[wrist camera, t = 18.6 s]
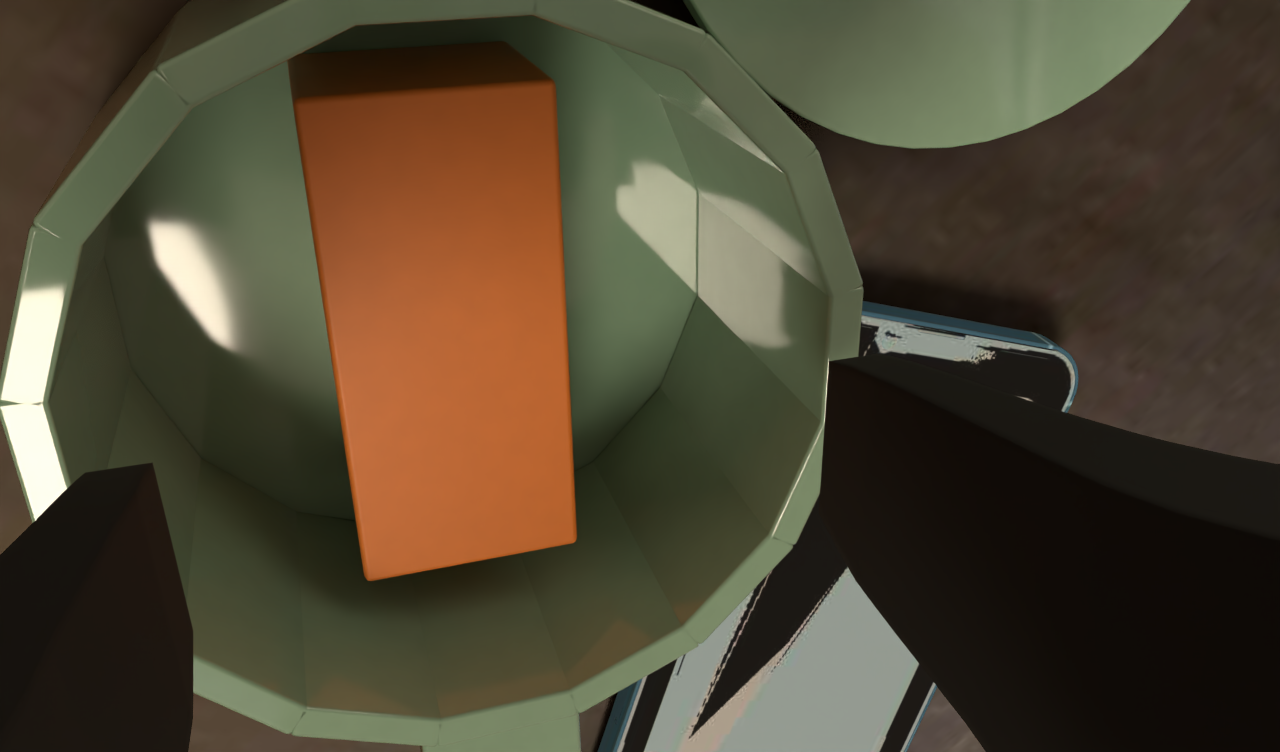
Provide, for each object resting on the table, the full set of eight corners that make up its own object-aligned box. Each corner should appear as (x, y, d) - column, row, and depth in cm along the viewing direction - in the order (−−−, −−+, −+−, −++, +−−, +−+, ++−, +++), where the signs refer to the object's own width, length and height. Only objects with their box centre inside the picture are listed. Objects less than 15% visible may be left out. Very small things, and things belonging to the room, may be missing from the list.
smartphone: (552, 919, 24) (769, 294, 19) (543, 883, 25) (748, 273, 20) (837, 902, 27) (1098, 354, 22) (820, 870, 28) (1067, 333, 22)
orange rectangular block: (286, 54, 16) (291, 98, 13) (508, 40, 17) (557, 79, 14) (349, 476, 19) (365, 584, 16) (533, 446, 20) (579, 544, 17)
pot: (724, -281, 16) (915, -333, 11) (709, 594, 23) (825, 786, 18) (-67, -292, 13) (-242, -365, 9) (186, 702, 20) (164, 960, 15)
